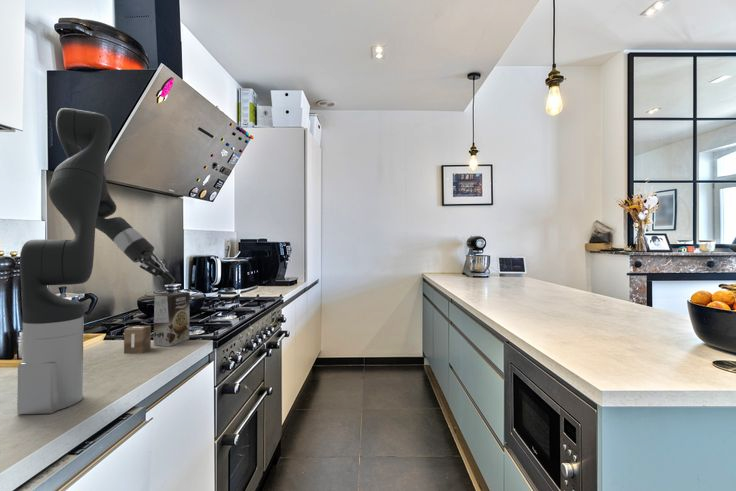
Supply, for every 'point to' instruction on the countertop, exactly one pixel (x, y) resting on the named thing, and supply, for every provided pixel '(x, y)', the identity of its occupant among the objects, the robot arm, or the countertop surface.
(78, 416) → the countertop surface
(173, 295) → the coffee box
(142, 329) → the numbered block
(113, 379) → the countertop surface
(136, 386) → the countertop surface
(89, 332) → the countertop surface
